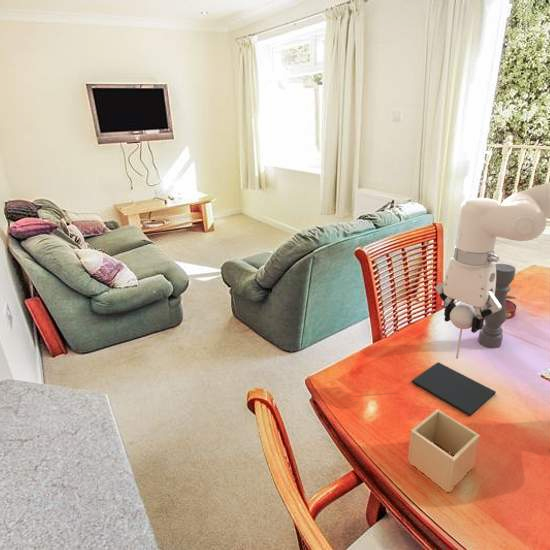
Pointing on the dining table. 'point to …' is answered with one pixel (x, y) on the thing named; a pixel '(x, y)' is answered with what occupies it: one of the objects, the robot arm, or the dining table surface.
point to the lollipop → (462, 319)
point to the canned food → (509, 307)
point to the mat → (454, 388)
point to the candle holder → (492, 327)
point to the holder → (451, 439)
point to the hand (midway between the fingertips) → (462, 324)
